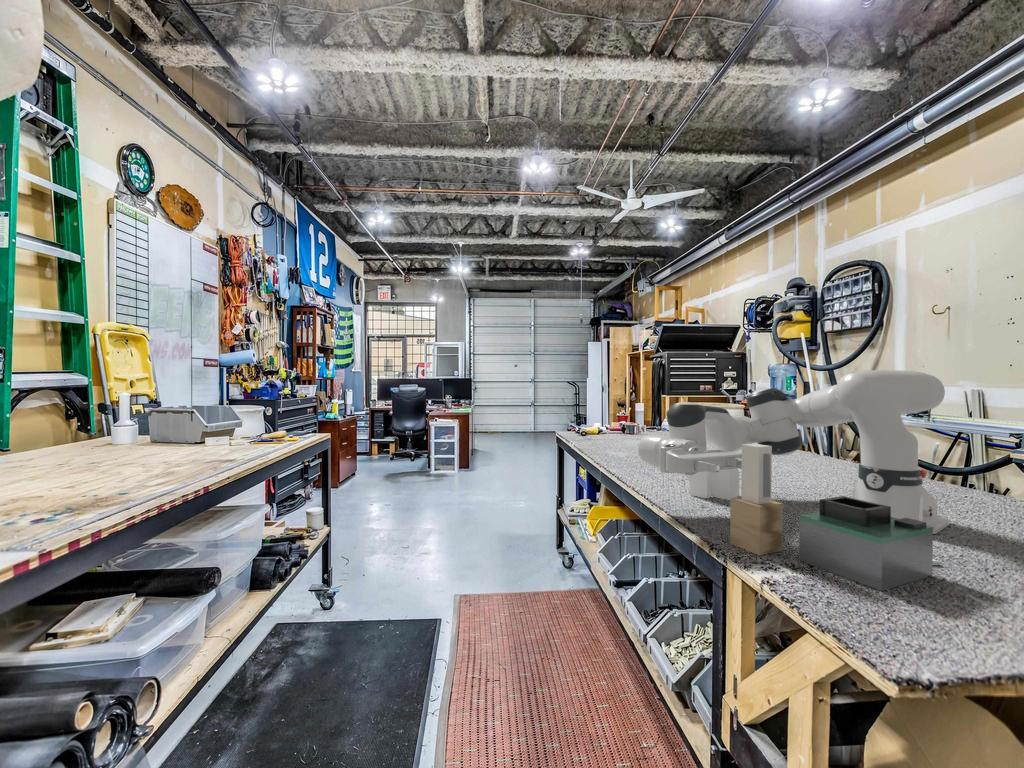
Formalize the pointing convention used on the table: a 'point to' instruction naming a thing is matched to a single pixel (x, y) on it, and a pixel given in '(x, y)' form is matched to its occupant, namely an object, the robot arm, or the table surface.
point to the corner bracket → (715, 484)
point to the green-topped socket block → (866, 543)
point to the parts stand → (756, 526)
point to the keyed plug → (756, 473)
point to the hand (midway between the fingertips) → (732, 467)
